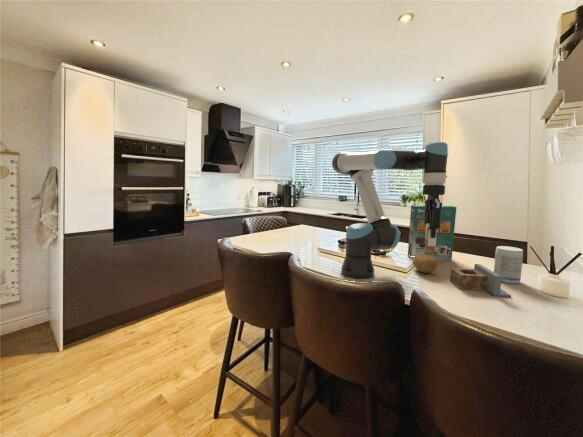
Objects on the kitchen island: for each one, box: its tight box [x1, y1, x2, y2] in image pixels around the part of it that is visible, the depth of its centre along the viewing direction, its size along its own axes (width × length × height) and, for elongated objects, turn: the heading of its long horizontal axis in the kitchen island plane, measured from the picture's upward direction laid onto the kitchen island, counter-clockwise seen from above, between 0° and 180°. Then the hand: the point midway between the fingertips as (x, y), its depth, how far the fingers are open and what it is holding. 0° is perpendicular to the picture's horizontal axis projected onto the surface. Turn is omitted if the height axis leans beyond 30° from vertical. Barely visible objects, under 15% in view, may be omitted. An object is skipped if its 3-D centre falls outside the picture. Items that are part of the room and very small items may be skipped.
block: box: [449, 267, 487, 292], centre depth 115 cm, size 10×9×6 cm
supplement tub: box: [493, 245, 524, 284], centre depth 121 cm, size 10×10×15 cm
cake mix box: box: [407, 204, 457, 261], centre depth 155 cm, size 22×6×30 cm, turn 85°
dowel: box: [424, 223, 435, 255], centre depth 107 cm, size 4×4×12 cm
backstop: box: [473, 263, 512, 298], centre depth 112 cm, size 6×16×8 cm, turn 171°
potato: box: [412, 255, 438, 274], centre depth 132 cm, size 10×14×8 cm
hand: (430, 244), depth 107 cm, fingers closed on dowel, 3 cm apart
